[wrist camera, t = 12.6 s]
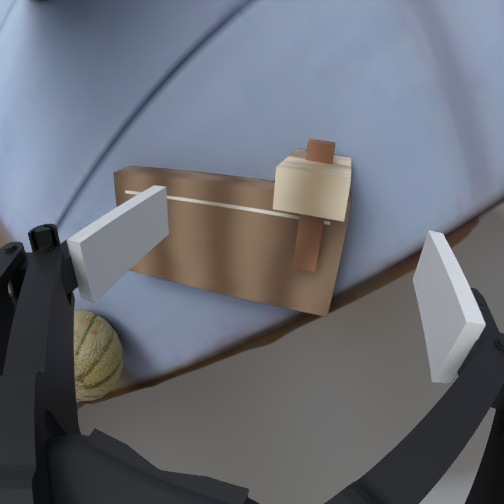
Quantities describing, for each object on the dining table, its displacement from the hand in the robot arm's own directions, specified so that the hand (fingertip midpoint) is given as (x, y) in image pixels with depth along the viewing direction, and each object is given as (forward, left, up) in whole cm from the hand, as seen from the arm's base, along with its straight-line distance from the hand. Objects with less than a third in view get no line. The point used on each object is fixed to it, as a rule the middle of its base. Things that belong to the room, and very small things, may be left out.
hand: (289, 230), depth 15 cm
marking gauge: (0, -3, -15) cm, 15 cm away
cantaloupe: (-31, -30, -16) cm, 46 cm away
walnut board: (-9, -8, -16) cm, 20 cm away
